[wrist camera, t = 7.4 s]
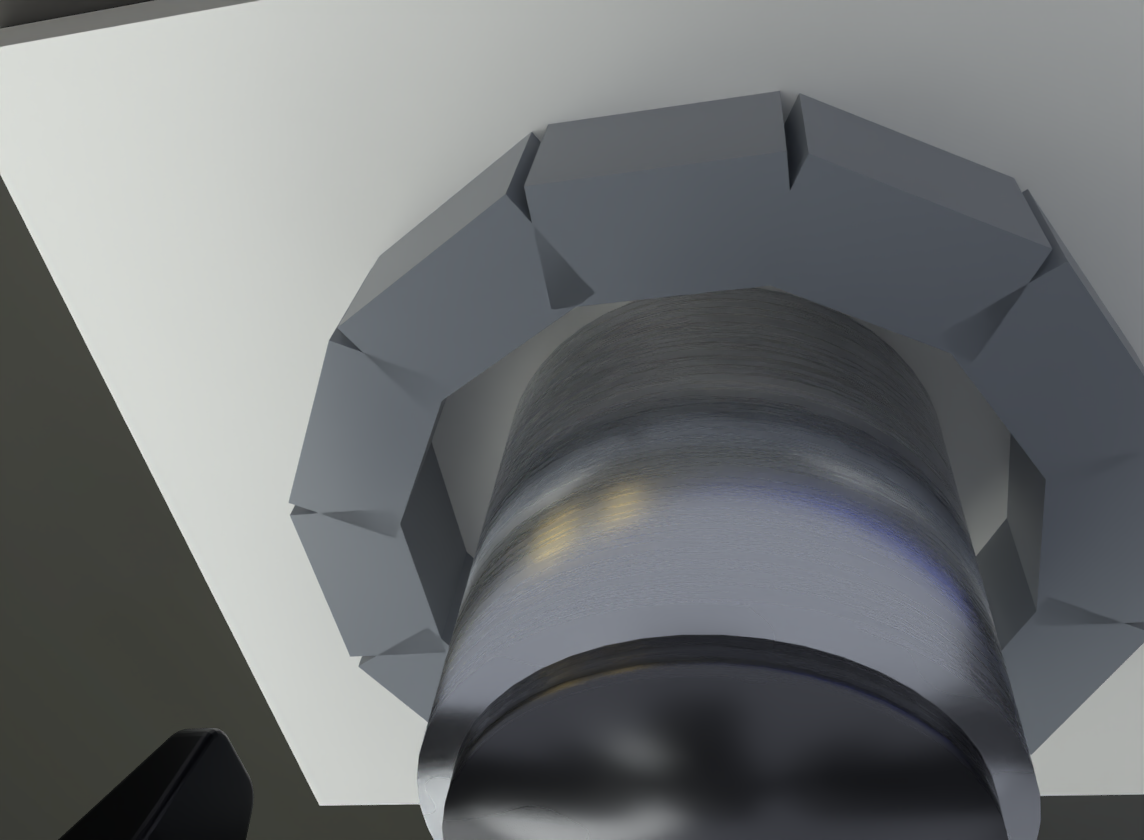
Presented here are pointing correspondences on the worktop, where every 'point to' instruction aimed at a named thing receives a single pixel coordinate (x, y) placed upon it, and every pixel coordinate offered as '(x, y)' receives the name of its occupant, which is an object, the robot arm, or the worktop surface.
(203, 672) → the worktop surface
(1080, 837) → the worktop surface
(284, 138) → the barrel plate
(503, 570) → the metal cylinder
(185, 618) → the worktop surface
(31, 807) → the worktop surface
